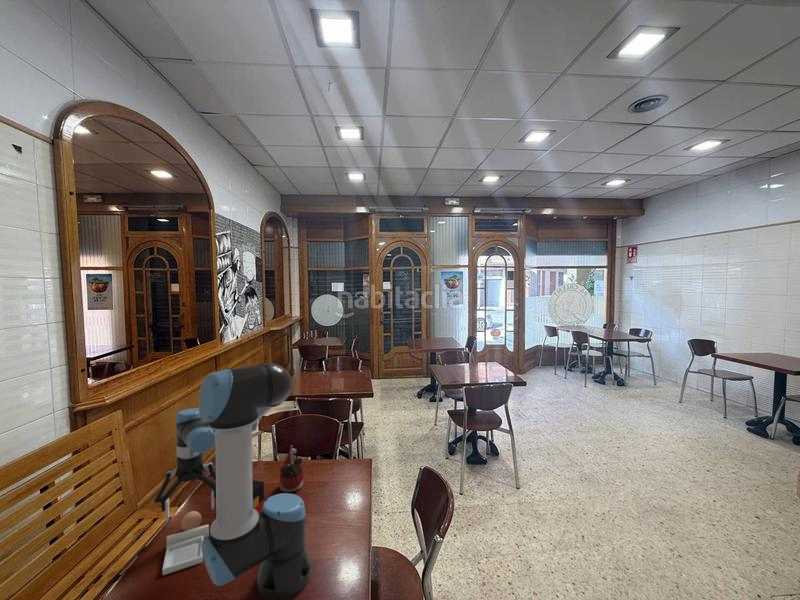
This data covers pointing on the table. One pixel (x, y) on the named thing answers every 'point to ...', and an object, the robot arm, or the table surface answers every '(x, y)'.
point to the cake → (291, 473)
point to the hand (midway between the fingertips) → (190, 512)
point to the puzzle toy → (258, 495)
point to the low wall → (187, 535)
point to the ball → (191, 520)
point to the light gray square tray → (183, 555)
